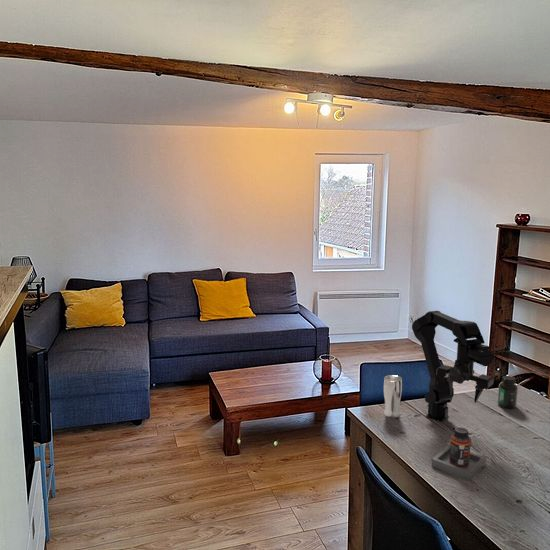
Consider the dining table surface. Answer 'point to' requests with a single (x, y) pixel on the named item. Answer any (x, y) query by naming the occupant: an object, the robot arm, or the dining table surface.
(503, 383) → the supplement bottle
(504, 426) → the dining table surface
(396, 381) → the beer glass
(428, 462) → the dining table surface
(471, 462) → the tray
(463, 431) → the supplement bottle
